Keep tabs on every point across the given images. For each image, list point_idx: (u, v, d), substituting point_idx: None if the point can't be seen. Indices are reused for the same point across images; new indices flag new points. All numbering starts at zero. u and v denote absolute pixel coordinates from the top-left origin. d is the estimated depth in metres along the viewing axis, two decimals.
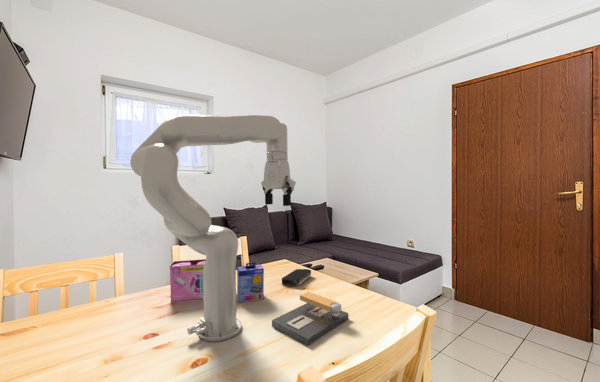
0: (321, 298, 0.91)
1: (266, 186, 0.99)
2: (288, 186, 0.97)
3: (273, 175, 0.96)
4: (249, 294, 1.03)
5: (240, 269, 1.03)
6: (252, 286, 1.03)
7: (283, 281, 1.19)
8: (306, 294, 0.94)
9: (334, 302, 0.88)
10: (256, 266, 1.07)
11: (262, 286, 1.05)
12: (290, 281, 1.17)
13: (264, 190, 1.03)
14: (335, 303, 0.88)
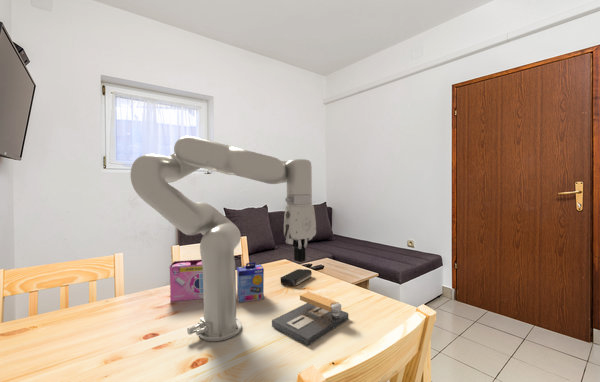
0: (321, 298, 0.91)
1: (299, 237, 0.79)
2: None
3: (308, 222, 0.81)
4: (249, 294, 1.03)
5: (240, 269, 1.03)
6: (252, 286, 1.03)
7: (281, 280, 1.19)
8: (306, 294, 0.94)
9: (334, 302, 0.88)
10: (256, 266, 1.07)
11: (262, 286, 1.05)
12: (288, 281, 1.18)
13: (296, 245, 0.81)
14: (335, 303, 0.88)
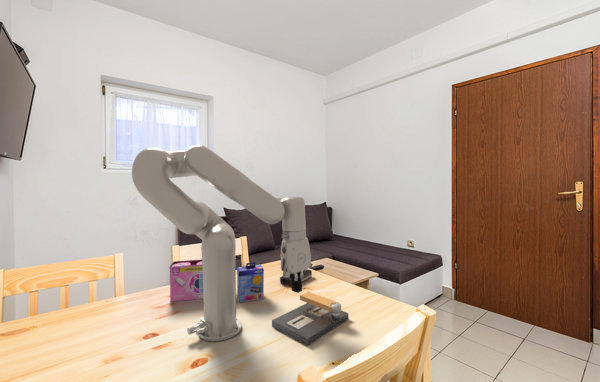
0: (321, 298, 0.91)
1: (295, 270, 0.84)
2: None
3: (303, 255, 0.87)
4: (249, 294, 1.03)
5: (240, 269, 1.03)
6: (252, 286, 1.03)
7: (281, 280, 1.20)
8: (306, 294, 0.94)
9: (334, 302, 0.88)
10: (256, 266, 1.07)
11: (262, 286, 1.05)
12: (287, 280, 1.18)
13: (293, 277, 0.86)
14: (335, 303, 0.88)
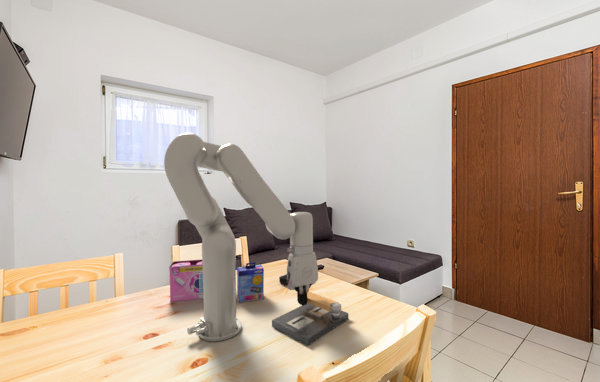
0: (321, 298, 0.91)
1: (299, 284, 0.87)
2: None
3: (309, 270, 0.89)
4: (249, 294, 1.03)
5: (240, 269, 1.03)
6: (252, 286, 1.03)
7: (280, 280, 1.20)
8: (307, 294, 0.95)
9: (334, 302, 0.88)
10: (256, 266, 1.07)
11: (262, 286, 1.05)
12: (286, 280, 1.18)
13: (298, 290, 0.89)
14: (335, 303, 0.88)
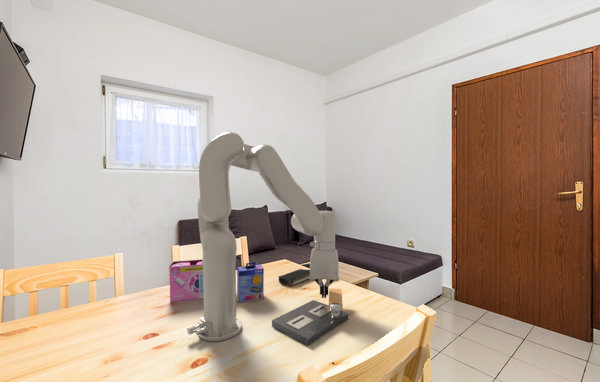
0: (337, 297, 0.92)
1: (315, 276, 0.95)
2: None
3: (327, 266, 0.94)
4: (249, 294, 1.03)
5: (240, 269, 1.03)
6: (252, 286, 1.03)
7: (279, 279, 1.21)
8: (334, 290, 0.98)
9: (339, 303, 0.88)
10: (256, 266, 1.07)
11: (262, 286, 1.05)
12: (285, 280, 1.19)
13: (318, 282, 0.97)
14: (339, 304, 0.87)
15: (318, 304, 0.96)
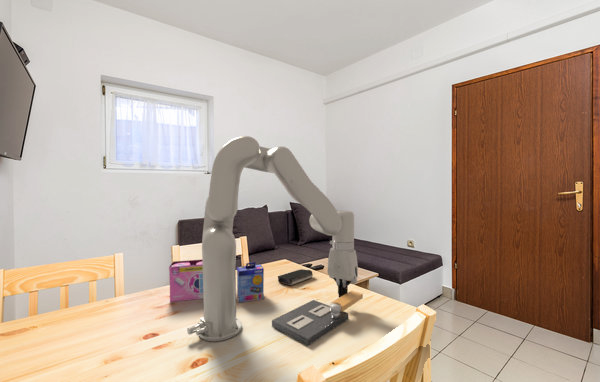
0: (347, 299, 0.91)
1: (331, 274, 0.96)
2: (356, 276, 0.95)
3: (341, 265, 0.94)
4: (249, 294, 1.03)
5: (240, 269, 1.03)
6: (252, 286, 1.03)
7: (278, 279, 1.21)
8: (354, 293, 0.96)
9: (341, 304, 0.87)
10: (256, 266, 1.07)
11: (262, 286, 1.05)
12: (284, 280, 1.19)
13: None
14: (339, 305, 0.86)
15: (318, 304, 0.96)
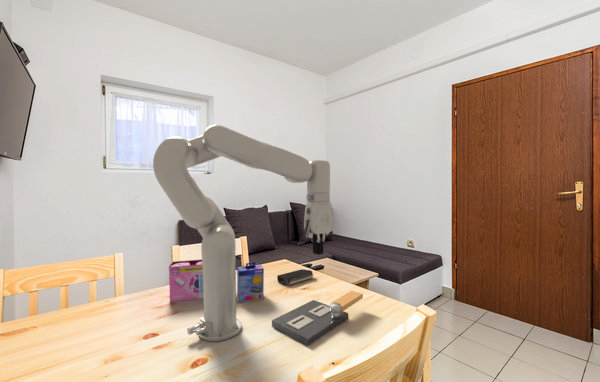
0: (347, 299, 0.91)
1: (319, 231, 0.86)
2: None
3: (326, 218, 0.89)
4: (249, 294, 1.03)
5: (240, 269, 1.03)
6: (252, 286, 1.03)
7: (277, 278, 1.22)
8: (354, 293, 0.96)
9: (341, 304, 0.87)
10: (256, 266, 1.07)
11: (262, 286, 1.05)
12: (282, 279, 1.20)
13: (315, 239, 0.88)
14: (339, 305, 0.86)
15: (318, 304, 0.96)
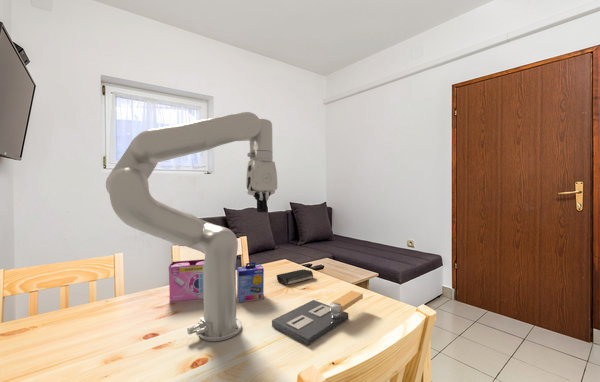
0: (347, 299, 0.91)
1: (260, 188, 0.87)
2: None
3: (269, 176, 0.90)
4: (249, 294, 1.03)
5: (240, 269, 1.03)
6: (252, 286, 1.03)
7: (277, 278, 1.23)
8: (354, 293, 0.96)
9: (341, 304, 0.87)
10: (256, 266, 1.07)
11: (262, 286, 1.05)
12: (281, 279, 1.20)
13: (258, 196, 0.89)
14: (339, 305, 0.86)
15: (318, 304, 0.96)
